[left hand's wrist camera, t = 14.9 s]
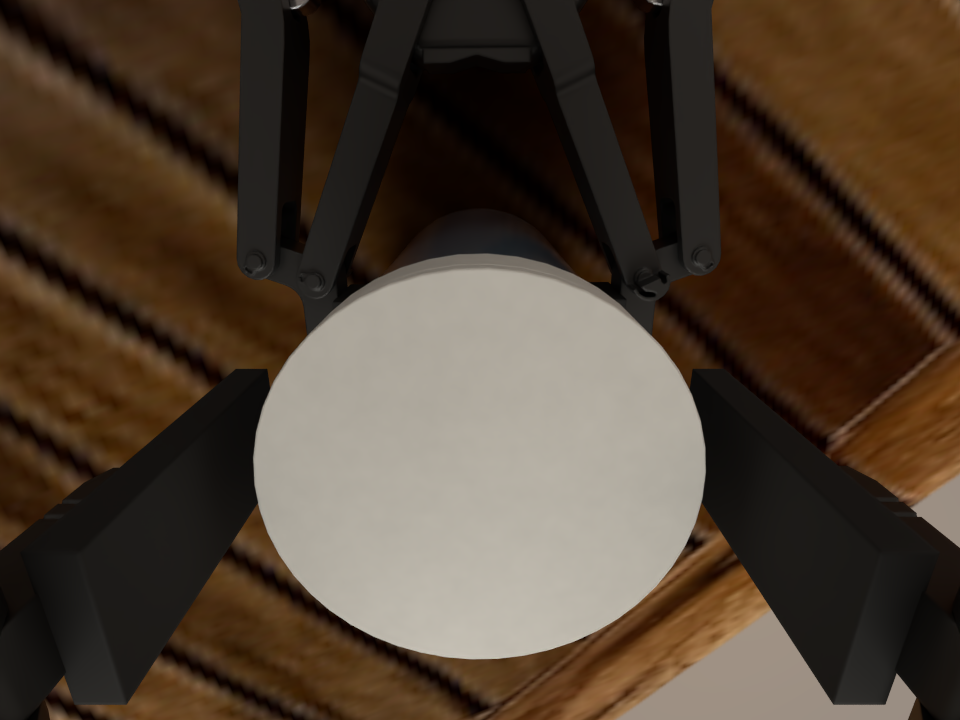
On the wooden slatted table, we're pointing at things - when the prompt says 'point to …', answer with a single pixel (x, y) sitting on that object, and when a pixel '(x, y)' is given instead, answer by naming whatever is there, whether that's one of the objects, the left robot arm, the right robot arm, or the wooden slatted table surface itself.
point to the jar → (479, 239)
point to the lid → (479, 458)
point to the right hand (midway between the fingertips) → (481, 454)
